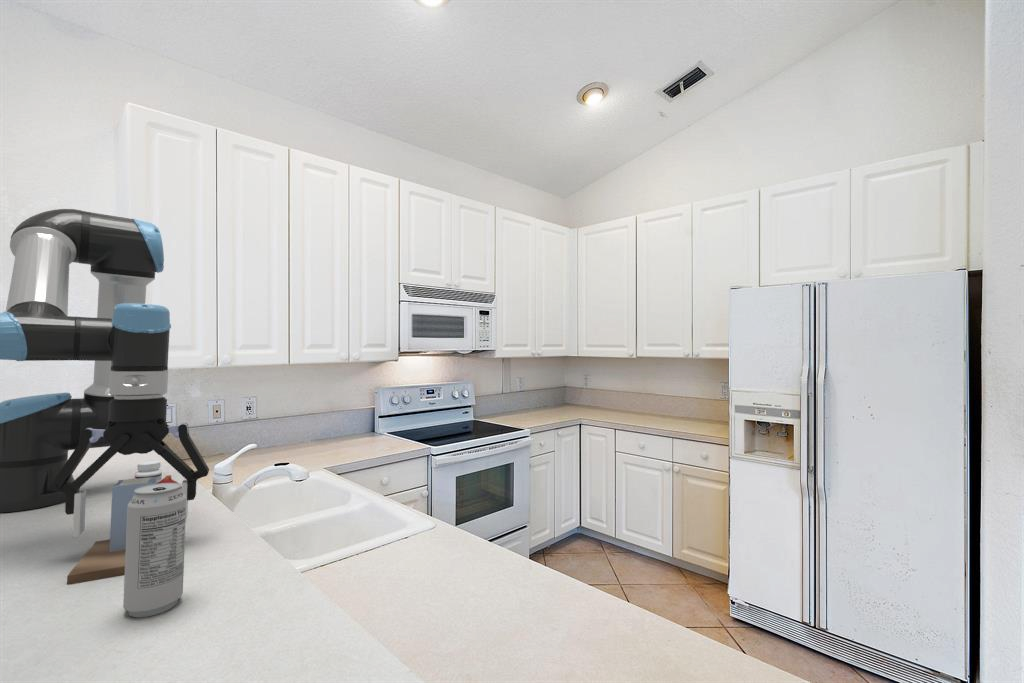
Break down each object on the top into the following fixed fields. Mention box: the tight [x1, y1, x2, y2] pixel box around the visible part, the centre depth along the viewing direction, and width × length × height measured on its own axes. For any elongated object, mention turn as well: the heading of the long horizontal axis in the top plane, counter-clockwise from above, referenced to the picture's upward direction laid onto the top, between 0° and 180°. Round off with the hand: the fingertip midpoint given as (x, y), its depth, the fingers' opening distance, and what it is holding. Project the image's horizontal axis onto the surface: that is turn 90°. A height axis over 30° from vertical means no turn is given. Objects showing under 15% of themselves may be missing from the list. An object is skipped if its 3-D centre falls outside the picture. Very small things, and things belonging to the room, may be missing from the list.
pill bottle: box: [134, 460, 163, 483], centre depth 103 cm, size 5×5×8 cm
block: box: [109, 477, 157, 552], centre depth 76 cm, size 5×5×10 cm
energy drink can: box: [122, 482, 187, 618], centre depth 59 cm, size 6×6×15 cm
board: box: [66, 538, 126, 585], centre depth 73 cm, size 14×11×1 cm
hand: (133, 526), depth 76 cm, fingers open, 13 cm apart
